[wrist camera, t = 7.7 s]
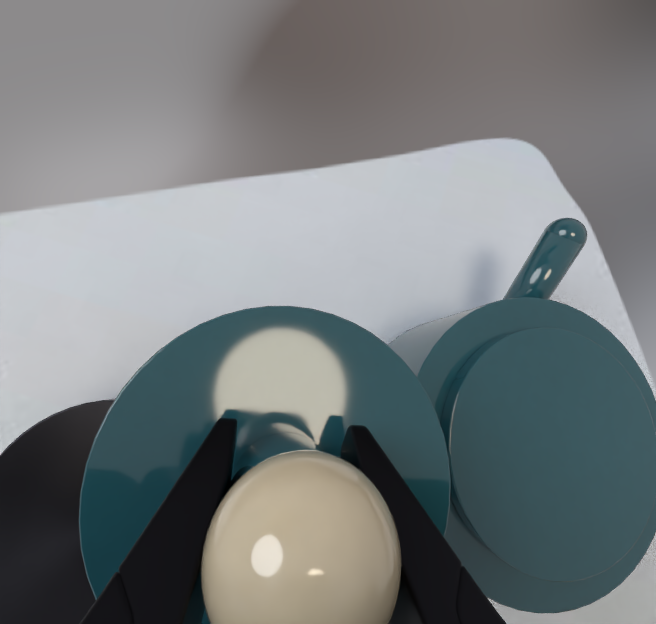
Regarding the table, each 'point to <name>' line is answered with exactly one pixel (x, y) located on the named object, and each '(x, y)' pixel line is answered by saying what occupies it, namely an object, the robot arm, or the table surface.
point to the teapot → (541, 438)
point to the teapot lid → (271, 465)
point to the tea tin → (46, 519)
